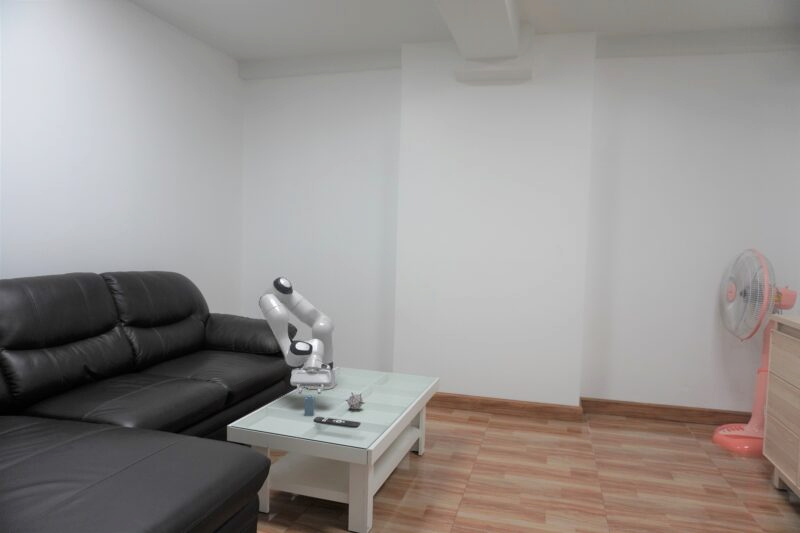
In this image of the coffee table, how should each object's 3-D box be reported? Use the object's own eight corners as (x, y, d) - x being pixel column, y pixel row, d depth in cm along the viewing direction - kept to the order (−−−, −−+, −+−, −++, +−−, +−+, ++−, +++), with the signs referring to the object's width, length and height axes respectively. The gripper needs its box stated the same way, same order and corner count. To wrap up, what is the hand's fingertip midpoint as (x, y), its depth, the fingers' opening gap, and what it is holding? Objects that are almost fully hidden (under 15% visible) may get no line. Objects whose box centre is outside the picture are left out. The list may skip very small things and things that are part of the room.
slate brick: (305, 413, 262) (306, 394, 262) (314, 413, 262) (314, 395, 262) (304, 415, 258) (304, 397, 258) (313, 415, 258) (313, 397, 258)
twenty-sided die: (358, 416, 270) (370, 400, 271) (351, 415, 263) (364, 398, 264) (345, 405, 274) (358, 388, 275) (339, 403, 267) (351, 386, 267)
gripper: (291, 364, 272) (287, 389, 262) (332, 365, 272) (329, 390, 262) (293, 371, 276) (288, 396, 267) (333, 372, 276) (330, 397, 267)
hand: (309, 393), depth 265 cm, fingers open, 8 cm apart
